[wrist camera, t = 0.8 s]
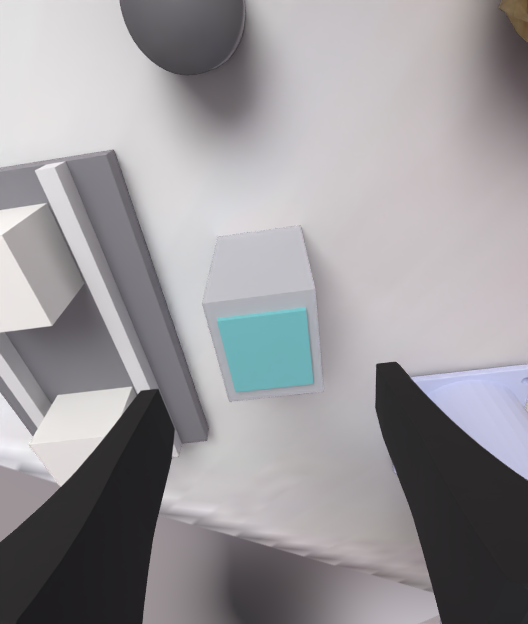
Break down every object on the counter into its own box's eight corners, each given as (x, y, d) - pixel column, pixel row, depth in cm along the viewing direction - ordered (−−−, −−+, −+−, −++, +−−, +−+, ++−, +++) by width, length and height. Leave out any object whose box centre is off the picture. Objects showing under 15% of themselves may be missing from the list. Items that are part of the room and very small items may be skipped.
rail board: (208, 428, 26) (200, 490, 23) (54, 444, 27) (21, 507, 23) (113, 149, 16) (70, 178, 13) (-126, 188, 17) (-233, 225, 13)
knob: (252, 62, 15) (251, 64, 12) (161, 78, 15) (141, 83, 12) (235, -66, 13) (229, -95, 10) (129, -46, 13) (99, -69, 10)
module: (308, 311, 21) (324, 395, 16) (236, 320, 21) (229, 405, 16) (300, 224, 18) (316, 292, 13) (217, 236, 19) (201, 306, 13)
